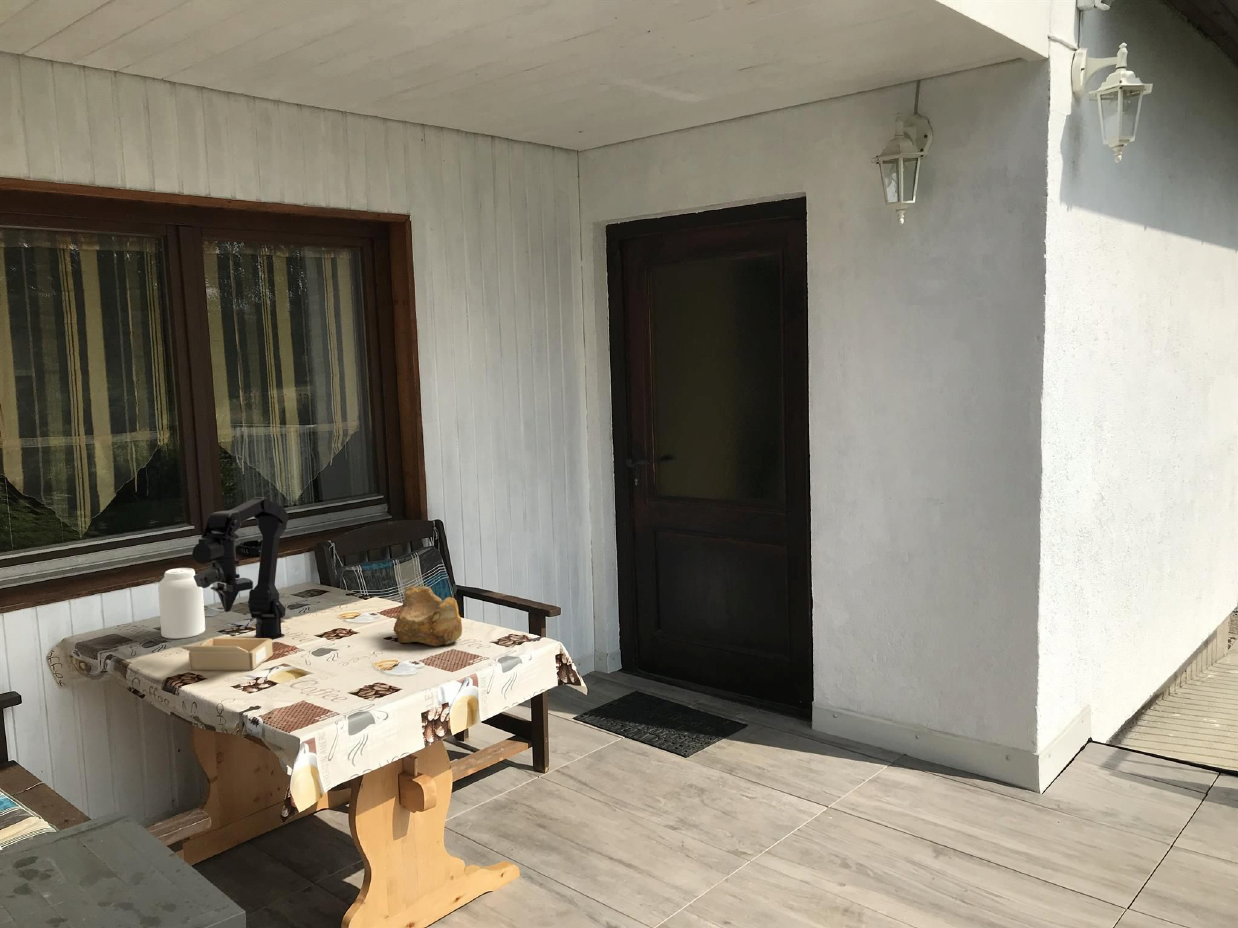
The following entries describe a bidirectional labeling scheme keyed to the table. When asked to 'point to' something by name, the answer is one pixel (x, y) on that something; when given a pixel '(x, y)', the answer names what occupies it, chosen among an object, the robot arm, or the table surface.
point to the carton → (232, 654)
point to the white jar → (181, 604)
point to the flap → (213, 649)
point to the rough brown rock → (427, 618)
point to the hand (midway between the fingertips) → (227, 611)
